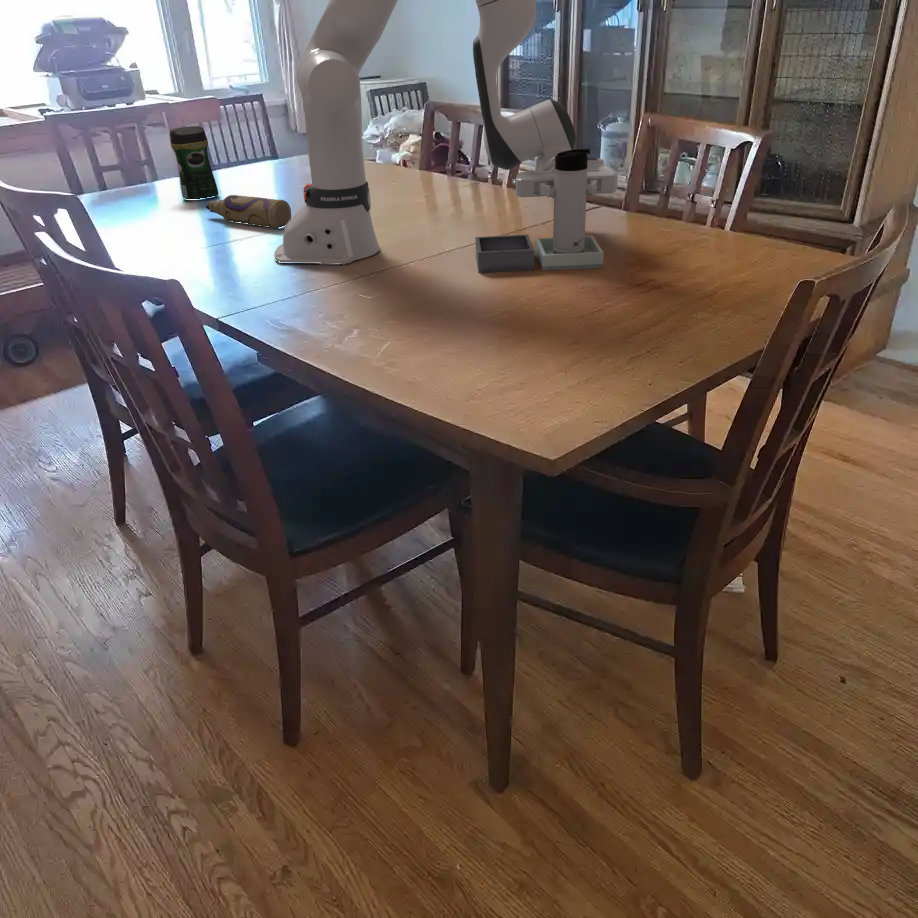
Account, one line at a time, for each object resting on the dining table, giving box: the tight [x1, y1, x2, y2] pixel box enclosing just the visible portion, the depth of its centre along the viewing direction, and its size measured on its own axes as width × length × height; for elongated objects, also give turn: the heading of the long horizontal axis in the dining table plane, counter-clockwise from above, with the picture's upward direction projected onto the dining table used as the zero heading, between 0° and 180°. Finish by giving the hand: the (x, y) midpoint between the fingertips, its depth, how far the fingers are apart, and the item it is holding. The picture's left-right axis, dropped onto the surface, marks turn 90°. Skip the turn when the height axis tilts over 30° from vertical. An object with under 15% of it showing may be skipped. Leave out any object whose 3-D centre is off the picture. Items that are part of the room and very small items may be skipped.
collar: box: [474, 234, 535, 274], centre depth 160 cm, size 11×11×4 cm
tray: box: [534, 235, 604, 272], centre depth 160 cm, size 12×12×3 cm
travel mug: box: [552, 148, 591, 254], centre depth 155 cm, size 6×7×20 cm
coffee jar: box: [169, 125, 220, 200], centre depth 216 cm, size 10×8×19 cm
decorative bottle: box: [205, 194, 292, 229], centre depth 195 cm, size 26×8×7 cm, turn 57°
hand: (571, 192), depth 153 cm, fingers closed on travel mug, 6 cm apart
